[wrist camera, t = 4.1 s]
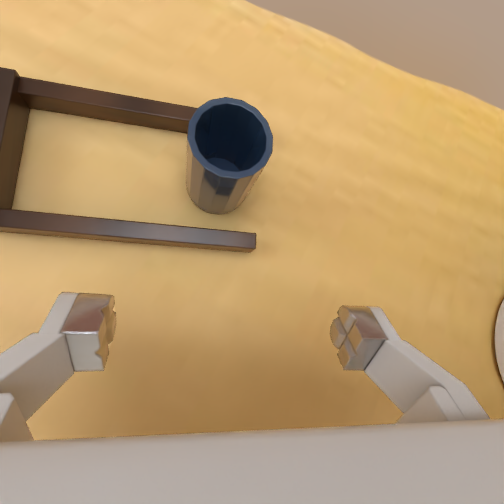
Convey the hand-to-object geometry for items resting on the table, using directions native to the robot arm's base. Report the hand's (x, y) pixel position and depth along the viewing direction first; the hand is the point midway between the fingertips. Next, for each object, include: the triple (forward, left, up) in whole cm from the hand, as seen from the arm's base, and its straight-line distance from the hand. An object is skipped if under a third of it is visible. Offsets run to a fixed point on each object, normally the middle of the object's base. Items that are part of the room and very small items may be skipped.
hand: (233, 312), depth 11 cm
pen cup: (0, -9, -12) cm, 15 cm away
